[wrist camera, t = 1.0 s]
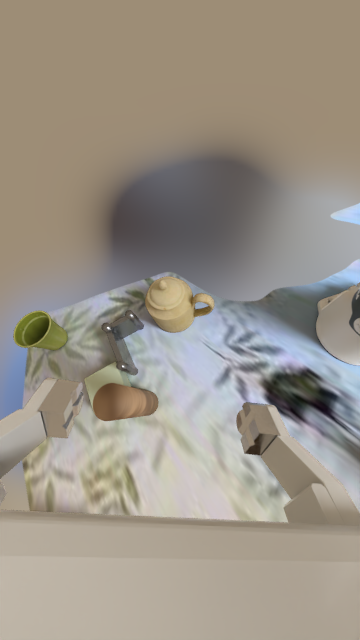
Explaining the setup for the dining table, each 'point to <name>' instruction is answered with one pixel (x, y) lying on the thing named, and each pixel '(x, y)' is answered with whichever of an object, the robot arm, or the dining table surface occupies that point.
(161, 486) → the dining table surface
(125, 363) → the corner post block
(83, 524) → the robot arm
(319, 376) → the dining table surface
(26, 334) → the plant pot
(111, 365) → the block
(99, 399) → the brown wooden cylinder
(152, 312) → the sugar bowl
